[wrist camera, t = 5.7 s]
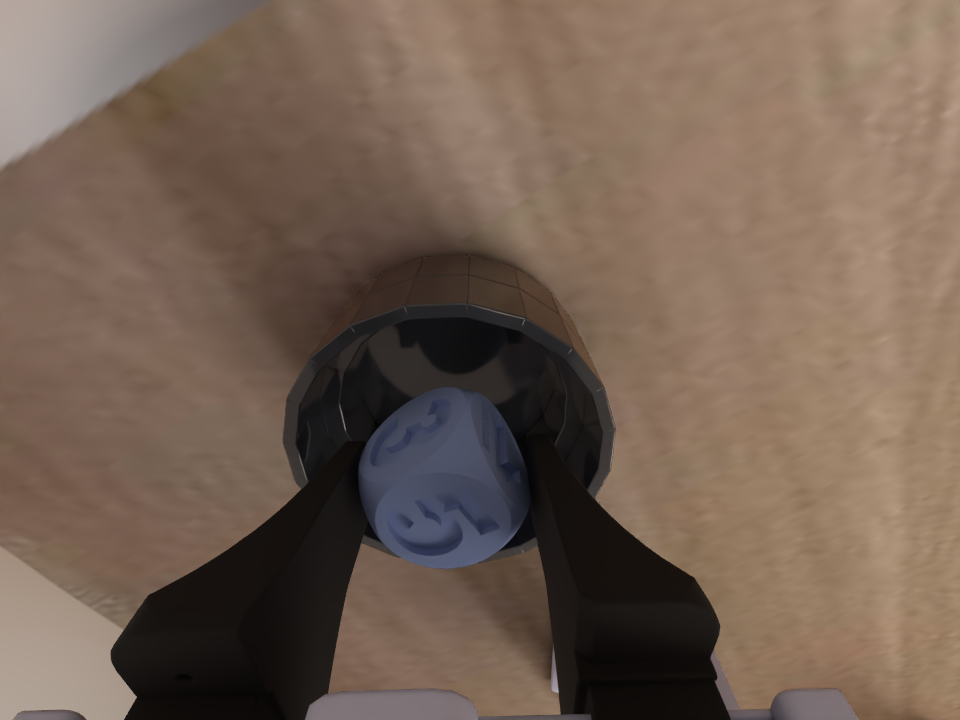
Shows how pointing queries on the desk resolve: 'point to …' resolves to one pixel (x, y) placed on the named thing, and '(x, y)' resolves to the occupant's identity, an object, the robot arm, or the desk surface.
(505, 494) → the decorative dice
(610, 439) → the dark grey round bowl
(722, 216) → the desk surface
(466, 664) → the desk surface
